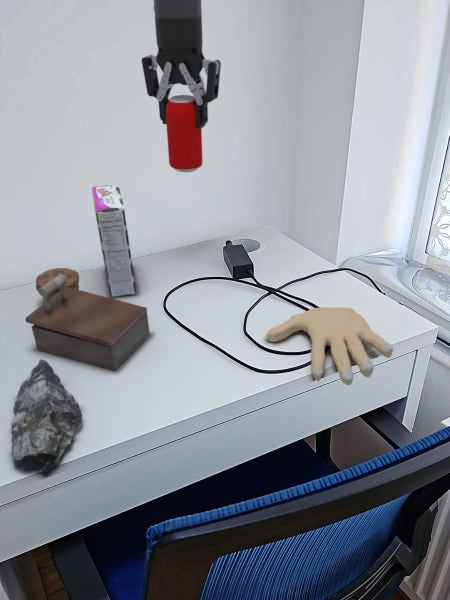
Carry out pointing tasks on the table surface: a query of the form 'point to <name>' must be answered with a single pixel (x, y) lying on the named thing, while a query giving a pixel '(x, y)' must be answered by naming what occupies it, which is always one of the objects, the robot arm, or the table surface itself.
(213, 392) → the table surface
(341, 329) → the hand model
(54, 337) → the brown wooden box
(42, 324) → the cover
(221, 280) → the table surface
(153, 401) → the table surface
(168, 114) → the beverage can
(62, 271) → the artifact
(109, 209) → the candy bar box
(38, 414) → the rock
